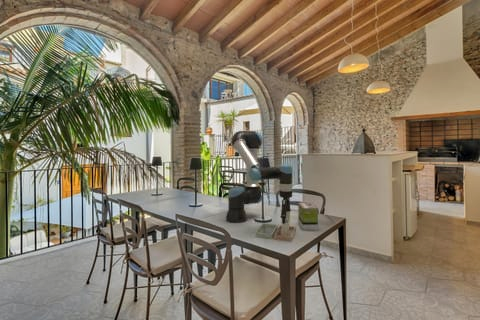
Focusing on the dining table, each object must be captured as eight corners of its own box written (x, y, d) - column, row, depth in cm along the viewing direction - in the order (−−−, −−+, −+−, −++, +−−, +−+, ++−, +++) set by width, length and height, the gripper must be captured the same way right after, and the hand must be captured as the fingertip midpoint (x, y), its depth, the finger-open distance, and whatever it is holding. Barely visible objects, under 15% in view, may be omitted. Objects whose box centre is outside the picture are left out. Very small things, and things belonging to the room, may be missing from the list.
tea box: (297, 222, 171) (297, 202, 171) (312, 222, 171) (312, 202, 170) (302, 230, 156) (302, 207, 156) (318, 230, 156) (318, 207, 155)
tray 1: (255, 236, 146) (255, 232, 146) (262, 226, 163) (262, 223, 163) (271, 238, 143) (271, 234, 142) (277, 228, 160) (277, 224, 159)
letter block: (281, 235, 148) (281, 222, 147) (282, 233, 151) (282, 220, 151) (288, 236, 146) (288, 222, 146) (289, 234, 150) (289, 220, 150)
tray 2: (274, 239, 142) (274, 234, 142) (279, 228, 159) (279, 225, 159) (291, 241, 139) (291, 236, 139) (295, 230, 156) (295, 226, 155)
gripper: (289, 194, 134) (289, 232, 135) (294, 187, 158) (294, 219, 159) (275, 193, 137) (275, 231, 138) (283, 186, 160) (283, 218, 161)
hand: (285, 225), depth 148 cm, fingers open, 13 cm apart
